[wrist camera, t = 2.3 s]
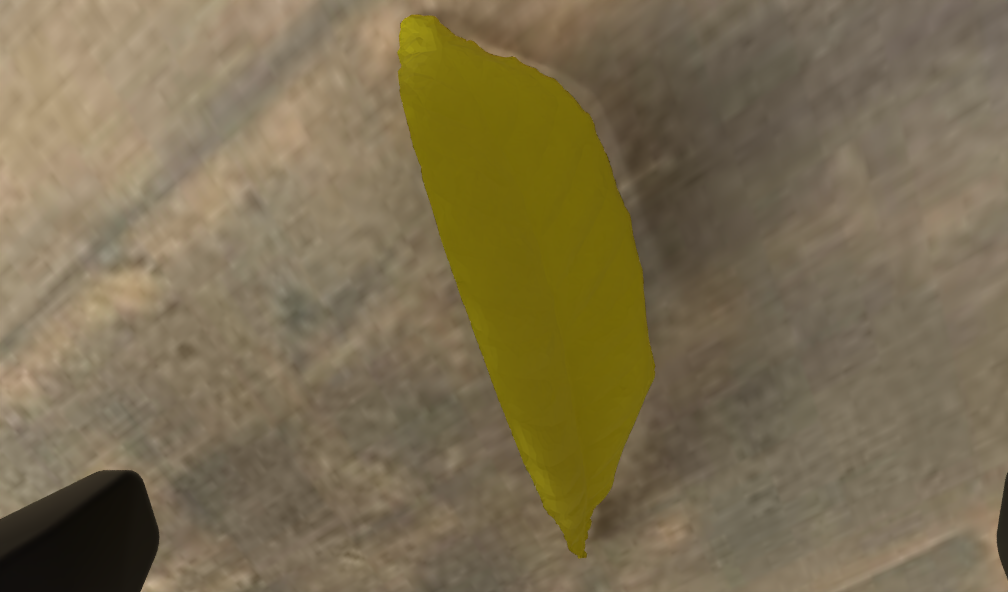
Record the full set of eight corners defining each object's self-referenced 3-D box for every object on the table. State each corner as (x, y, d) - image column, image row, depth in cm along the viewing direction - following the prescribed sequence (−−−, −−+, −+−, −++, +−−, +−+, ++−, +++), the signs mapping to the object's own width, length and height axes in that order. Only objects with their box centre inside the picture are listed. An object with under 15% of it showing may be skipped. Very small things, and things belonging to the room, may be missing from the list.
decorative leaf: (716, 535, 15) (594, 673, 13) (624, 505, 16) (502, 626, 14) (574, -37, 11) (379, 27, 9) (476, -6, 13) (289, 55, 11)
